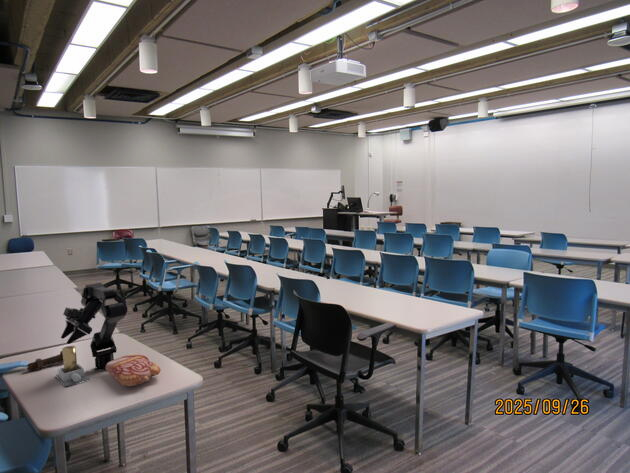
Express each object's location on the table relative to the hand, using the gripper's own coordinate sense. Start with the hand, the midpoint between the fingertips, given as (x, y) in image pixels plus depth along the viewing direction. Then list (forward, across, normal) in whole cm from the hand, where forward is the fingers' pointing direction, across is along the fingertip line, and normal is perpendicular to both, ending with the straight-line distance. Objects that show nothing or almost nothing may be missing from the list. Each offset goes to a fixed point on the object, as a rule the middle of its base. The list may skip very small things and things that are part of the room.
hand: (64, 340), depth 183 cm
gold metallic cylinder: (+9, +8, +9) cm, 15 cm away
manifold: (+10, +10, +9) cm, 17 cm away
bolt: (+13, -12, +7) cm, 19 cm away
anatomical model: (-3, +27, +22) cm, 35 cm away
